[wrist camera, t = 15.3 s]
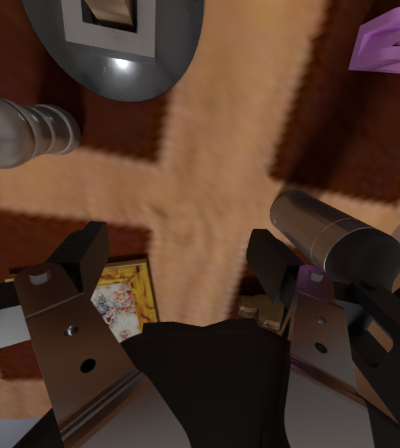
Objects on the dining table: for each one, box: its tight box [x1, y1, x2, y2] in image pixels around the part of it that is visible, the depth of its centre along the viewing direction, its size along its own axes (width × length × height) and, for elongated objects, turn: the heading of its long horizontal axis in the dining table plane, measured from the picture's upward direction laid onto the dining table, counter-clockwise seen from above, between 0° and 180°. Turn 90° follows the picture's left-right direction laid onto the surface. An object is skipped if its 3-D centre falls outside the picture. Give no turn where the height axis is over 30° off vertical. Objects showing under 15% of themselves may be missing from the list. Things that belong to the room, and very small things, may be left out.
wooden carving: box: [237, 294, 284, 330], centre depth 51 cm, size 16×5×10 cm, turn 82°
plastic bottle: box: [0, 97, 81, 169], centre depth 23 cm, size 6×7×20 cm
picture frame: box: [5, 259, 158, 343], centre depth 49 cm, size 27×2×30 cm
